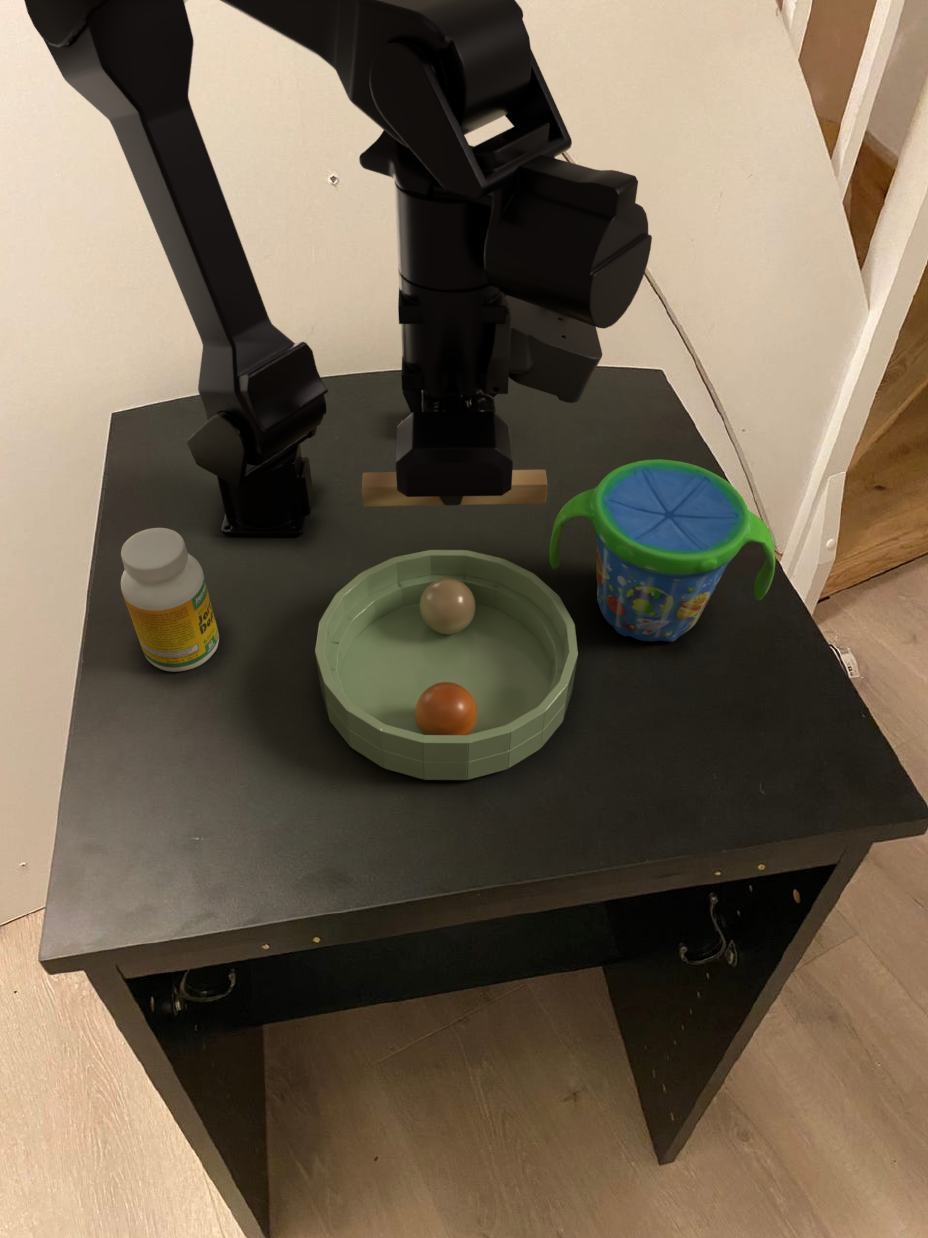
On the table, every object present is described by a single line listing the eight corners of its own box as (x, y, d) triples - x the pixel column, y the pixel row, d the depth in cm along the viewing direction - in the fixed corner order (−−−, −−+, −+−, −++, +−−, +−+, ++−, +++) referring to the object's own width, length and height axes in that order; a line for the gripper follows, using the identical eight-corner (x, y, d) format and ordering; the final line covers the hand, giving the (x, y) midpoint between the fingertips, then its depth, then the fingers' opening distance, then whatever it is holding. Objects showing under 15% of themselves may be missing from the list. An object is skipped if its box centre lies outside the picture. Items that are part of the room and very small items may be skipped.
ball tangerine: (414, 756, 60) (413, 718, 58) (416, 707, 63) (415, 668, 60) (476, 757, 60) (478, 719, 58) (476, 708, 63) (477, 669, 60)
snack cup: (759, 586, 72) (795, 481, 65) (745, 686, 66) (783, 582, 58) (562, 543, 76) (575, 438, 68) (529, 635, 69) (539, 529, 61)
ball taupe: (419, 645, 67) (418, 606, 64) (420, 605, 70) (419, 566, 67) (475, 646, 67) (476, 607, 64) (474, 606, 70) (475, 566, 67)
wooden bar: (363, 506, 62) (361, 487, 60) (364, 491, 63) (362, 472, 61) (546, 503, 62) (547, 484, 61) (544, 488, 63) (545, 469, 62)
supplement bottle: (145, 624, 69) (111, 524, 62) (219, 614, 70) (194, 514, 63) (143, 680, 65) (107, 580, 58) (221, 668, 66) (195, 569, 59)
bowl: (309, 784, 59) (301, 741, 56) (334, 592, 71) (329, 548, 68) (580, 785, 60) (588, 743, 56) (560, 594, 72) (566, 550, 68)
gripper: (624, 357, 44) (590, 592, 56) (580, 195, 57) (559, 413, 69) (388, 359, 44) (402, 595, 55) (397, 196, 57) (407, 414, 68)
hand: (451, 494), depth 62 cm, fingers closed on wooden bar, 2 cm apart
